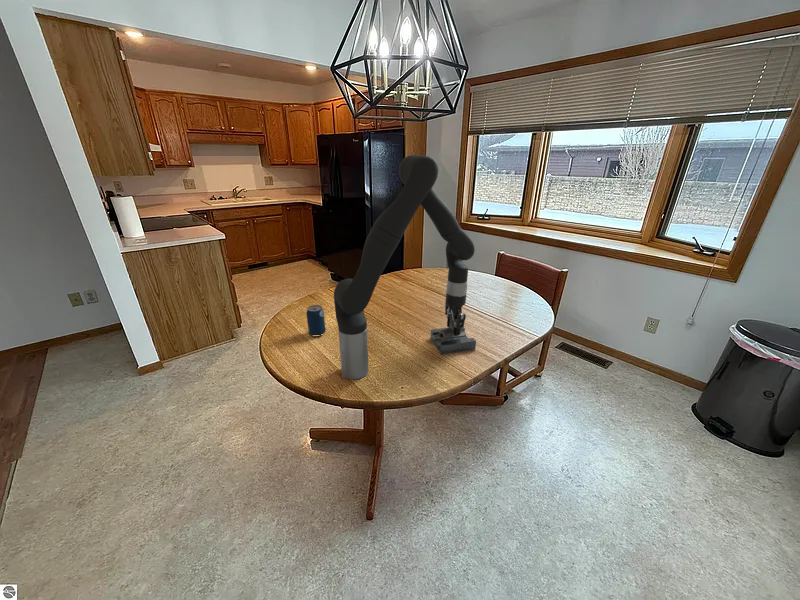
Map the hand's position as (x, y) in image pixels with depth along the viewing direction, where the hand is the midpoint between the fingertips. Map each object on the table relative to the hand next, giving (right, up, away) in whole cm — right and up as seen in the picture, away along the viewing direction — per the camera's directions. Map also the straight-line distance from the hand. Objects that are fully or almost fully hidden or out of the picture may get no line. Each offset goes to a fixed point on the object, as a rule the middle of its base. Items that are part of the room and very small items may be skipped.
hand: (453, 330), depth 127 cm
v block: (0, -6, +2) cm, 6 cm away
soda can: (-56, -2, +9) cm, 57 cm away
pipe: (0, -2, 0) cm, 2 cm away
